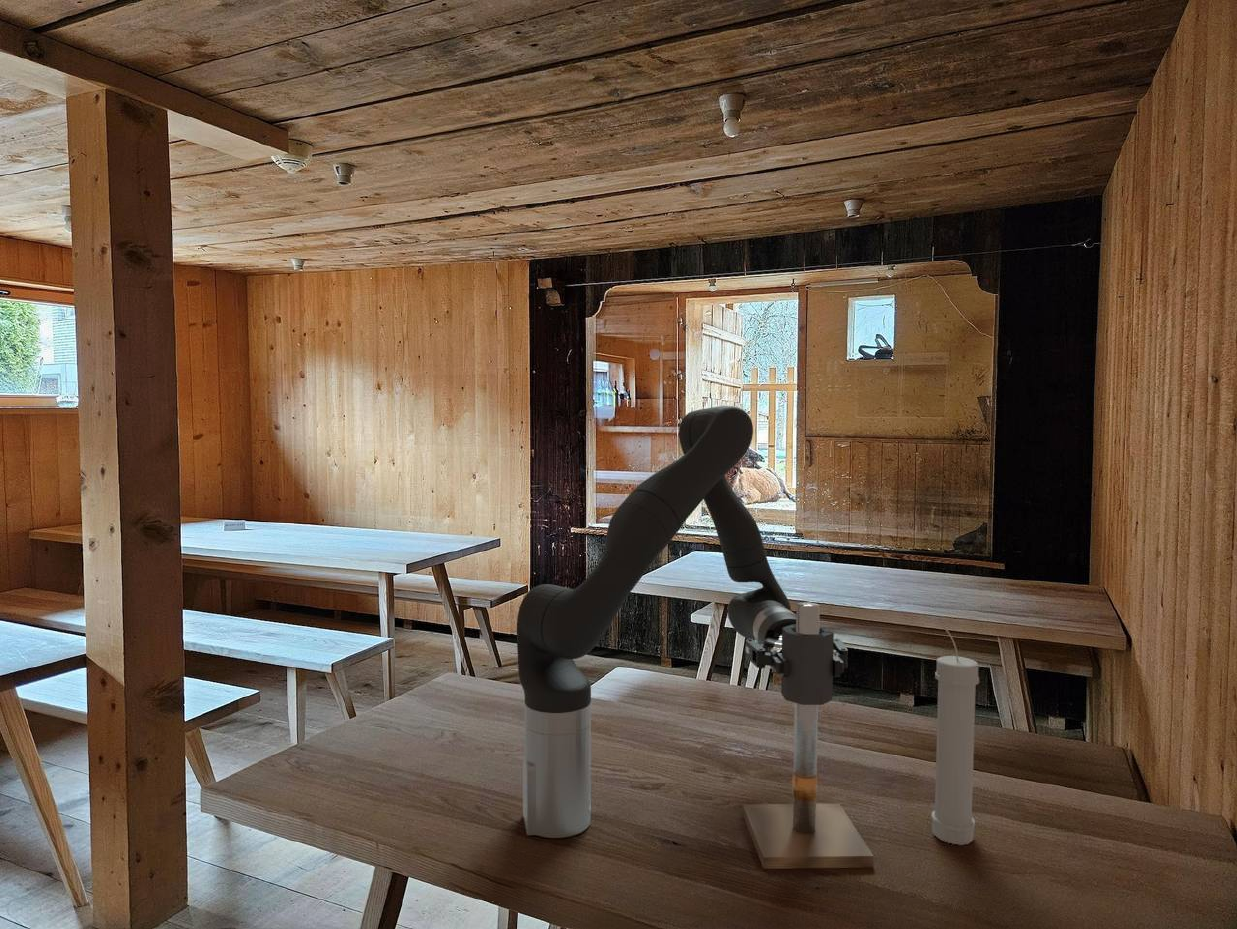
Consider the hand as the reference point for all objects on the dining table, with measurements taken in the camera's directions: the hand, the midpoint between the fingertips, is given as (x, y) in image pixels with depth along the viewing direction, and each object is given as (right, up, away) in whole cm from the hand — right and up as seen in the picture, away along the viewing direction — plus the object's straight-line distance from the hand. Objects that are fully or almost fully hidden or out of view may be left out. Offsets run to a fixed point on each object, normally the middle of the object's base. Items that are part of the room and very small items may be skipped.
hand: (812, 669), depth 104 cm
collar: (0, -4, +3) cm, 5 cm away
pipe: (+20, -24, +5) cm, 32 cm away
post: (0, -24, +4) cm, 24 cm away
